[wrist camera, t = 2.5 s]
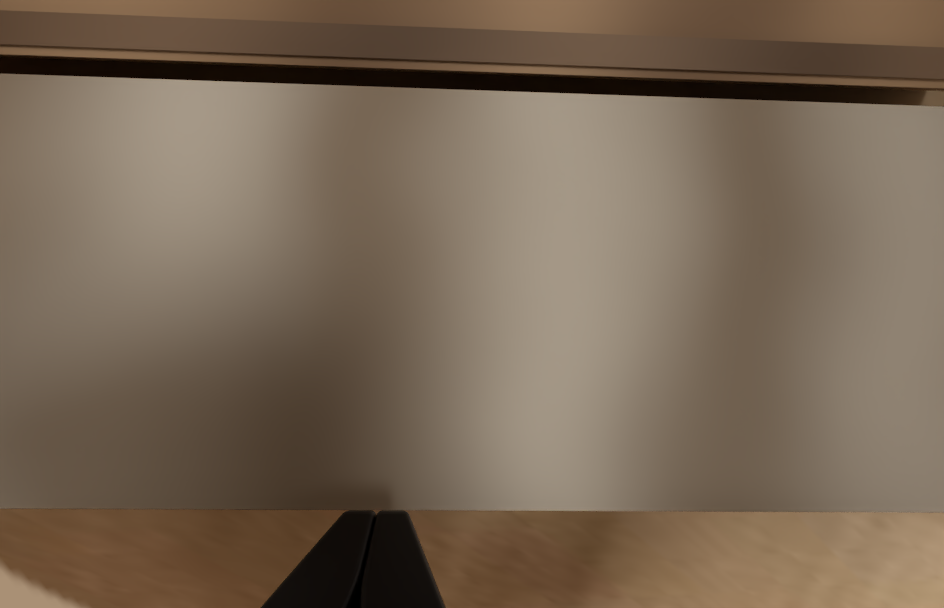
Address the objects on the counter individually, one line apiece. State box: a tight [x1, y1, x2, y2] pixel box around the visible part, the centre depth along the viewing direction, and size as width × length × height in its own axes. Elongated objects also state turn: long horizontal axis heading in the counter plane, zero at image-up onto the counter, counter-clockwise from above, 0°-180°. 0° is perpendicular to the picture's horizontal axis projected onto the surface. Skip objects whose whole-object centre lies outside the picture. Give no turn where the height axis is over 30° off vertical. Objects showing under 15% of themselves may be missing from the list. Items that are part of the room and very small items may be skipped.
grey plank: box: [0, 74, 944, 513], centre depth 10 cm, size 22×7×2 cm, turn 88°
